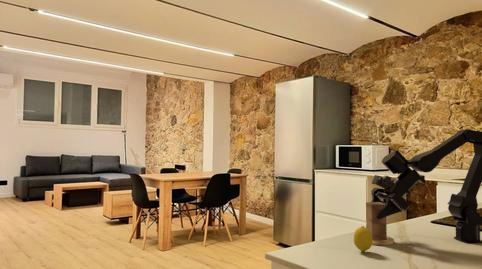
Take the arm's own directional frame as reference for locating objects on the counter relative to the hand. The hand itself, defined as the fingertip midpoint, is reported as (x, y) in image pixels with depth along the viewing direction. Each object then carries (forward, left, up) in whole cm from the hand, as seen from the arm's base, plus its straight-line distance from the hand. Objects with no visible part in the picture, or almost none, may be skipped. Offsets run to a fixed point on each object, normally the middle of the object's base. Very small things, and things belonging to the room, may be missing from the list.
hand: (372, 215), depth 121 cm
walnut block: (-1, 0, -8) cm, 8 cm away
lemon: (+9, +12, -9) cm, 17 cm away
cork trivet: (-1, 0, -9) cm, 9 cm away
